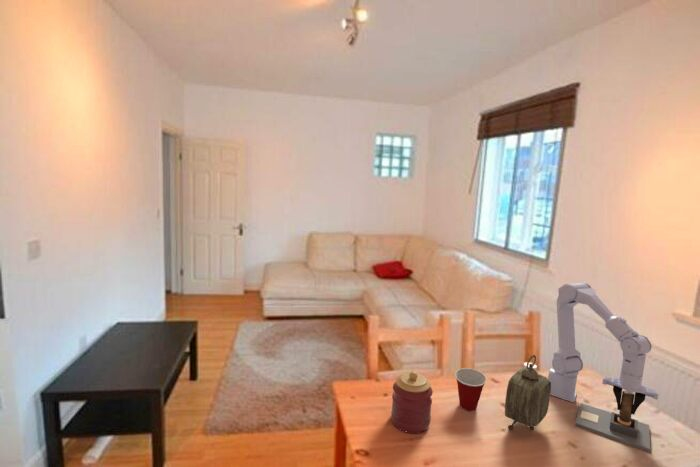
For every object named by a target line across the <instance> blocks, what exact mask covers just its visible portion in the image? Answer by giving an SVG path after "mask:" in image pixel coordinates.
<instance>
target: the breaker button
mask: <svg viewBox="0 0 700 467" xmlns="http://www.w3.org/2000/svg"><path fill="white" fill-rule="evenodd" d="M617 422H618V423H619V424H621V425H624V426H627V427H629V426H631V421H630V422H625V421H623V420H621V419H619V417H618V420H617Z"/></svg>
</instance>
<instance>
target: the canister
mask: <svg viewBox="0 0 700 467" xmlns="http://www.w3.org/2000/svg"><path fill="white" fill-rule="evenodd" d="M392 390H393V393H392V395H391V398H392V404H391V405H392V406H391V413H390V417H391V423H392V424H393V423H394V424H393V425H394V427H396V428H397V427H398V428H399V429H398V428H397V429H398V430H400V429H401V430H400V431H402V430H403V431H402V432H404V431H407V432H406V433H408V432H413V433H412V434H419V433H418V432H421V433H423V432H422V431H424V432H426V431H427V430H428V429H429V427H430V424H431V422H432V421H431V419H432V417H431V411H432V403H433V399H432V395H433V392H434V391H433V388H432V386H431V382H430V380H429V379H428V378H427V377H425V376H424V375H422V374H420V373H417V372H416V371H408V372H404V373H402V374H399V375H398V376H396V377H395V382H394V383H393V384H392ZM427 428H428V429H427ZM426 429H427V430H426Z"/></svg>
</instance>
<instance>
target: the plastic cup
mask: <svg viewBox="0 0 700 467" xmlns="http://www.w3.org/2000/svg"><path fill="white" fill-rule="evenodd" d="M454 376H455V379H456V384H457V391H458V400H459V401H458V402H459V406H460V408H461V407H462V408H461V409H463V410H465V411H467V410H468V412H472V411H473V412H474V411H476V409H477V407H478V404H479V401H480V399H481V396H482V391H483V388H484V386H485V384H486V383H487V376H486V375H485V374H484V373H483V372H481V371H479V370H477V369H474V368H469V367H463V368H458V369H457V370H456V371H455V373H454Z"/></svg>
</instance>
